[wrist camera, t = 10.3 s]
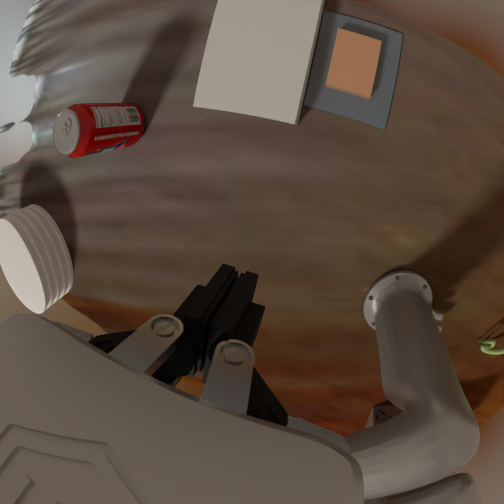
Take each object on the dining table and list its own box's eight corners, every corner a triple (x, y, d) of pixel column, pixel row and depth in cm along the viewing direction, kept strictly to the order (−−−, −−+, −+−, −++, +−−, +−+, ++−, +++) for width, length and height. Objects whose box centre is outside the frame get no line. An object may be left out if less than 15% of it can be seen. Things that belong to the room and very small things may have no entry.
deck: (325, -4, 25) (325, -16, 21) (297, 125, 35) (294, 124, 31) (234, -12, 27) (225, -23, 23) (204, 108, 37) (193, 106, 33)
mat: (402, 34, 24) (403, 34, 24) (384, 130, 32) (384, 129, 31) (324, 11, 26) (324, 10, 26) (303, 105, 33) (303, 105, 33)
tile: (337, 28, 25) (337, 32, 27) (325, 84, 29) (325, 86, 31) (381, 41, 24) (379, 45, 26) (370, 97, 29) (368, 99, 30)
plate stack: (85, 301, 64) (58, 324, 54) (37, 285, 71) (15, 302, 61) (57, 201, 53) (22, 217, 43) (14, 206, 60) (-13, 219, 49)
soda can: (155, 116, 39) (89, 119, 26) (134, 154, 43) (70, 171, 30) (126, 96, 38) (60, 95, 25) (108, 132, 42) (45, 143, 29)
